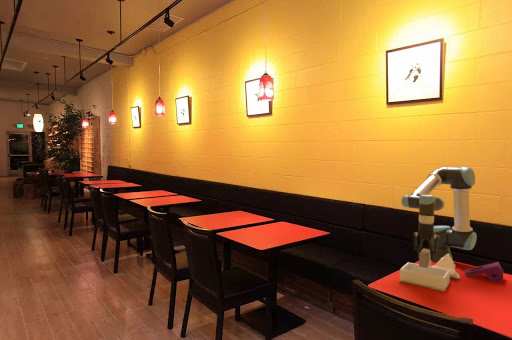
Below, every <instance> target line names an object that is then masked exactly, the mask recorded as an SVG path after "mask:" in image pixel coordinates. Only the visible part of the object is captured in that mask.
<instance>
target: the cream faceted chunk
mask: <svg viewBox="0 0 512 340" xmlns="http://www.w3.org/2000/svg"><path fill="white" fill-rule="evenodd" d="M430 267H435V268H440V269H445V270H450V279H458V280H460V277H461V275H460V274H459V273H458V272H457V271H456V264H455V262H454V260H453V258H452V259H451V257H450V255H449V254H447V255H445V256H444V257H442V258H441V260H439V261H438V262H437V261H436V262H435V264H434V265H430Z"/></svg>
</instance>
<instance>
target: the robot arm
mask: <svg viewBox="0 0 512 340" xmlns="http://www.w3.org/2000/svg"><path fill="white" fill-rule="evenodd" d="M474 171H475V170H473V169H472V168H471V167H467V166H466V167H465V166H441V167H438V168H436V169H434V170H433V171H431V172H430V173H429V174H427V175H426V179H425V180H424V181H423V182H422V183H421V184H420V185H419V186H418V187H417V188H415V190H414V191H412V192H411V194H410V195H409V194H405V195H403V196H402V198H401V205H402V207H403V208H408V209H416V210H417V209H418V230H417V231H415V232H413V233H412V236H413V251H416V253H417V255H416V256H417V259H419V252H420V251H421V250H422V247H423V243H424V240H426V241H427V244H428V249H430V253H429V263H428V266H432V261H433V262H436V263H437V262H438V261H439V260H441V258H442V257H444V256H445V255H447V254H449V255H450V257H451V259H452V260H453V256H452V253H451V250H450V249H451V248H457V249H460V250H467V251H471V250H473V248H474V247H475V246H476V244H477V238H478V236H477V233H476V232H475V231H474V230H473V227H471V225H470V224H471V223H470V222H471V220H470V219H471V218H470V217H471V216H470V213H471V212H470V190H471V189H472V187H473V186H475V184H476V174H475V172H474ZM441 185H450V186H449V187H450V189H451V190H452V191H453V192H452V193H453V195H452V196H453V222H454V224H453V226H452V227H451V226H449V225H435V224H434V223H435V212H436V211H437V212H438V211H440V210H442V209H443V208H444V207H445V201H444V199H442V198H441V197H439V196H437V197H435V196H434V195H432V194H431V193H432V192H433V191H434V190H435V189H436V188H437V187H440V186H441ZM418 236H419V238H420V239H419V242H418Z"/></svg>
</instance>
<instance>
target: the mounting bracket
mask: <svg viewBox="0 0 512 340" xmlns="http://www.w3.org/2000/svg"><path fill="white" fill-rule="evenodd" d="M502 267H503V266H501V264H500V262H499V261H496V262H492V263H488V264H483V265H479V266H475V267H471V268H468V269H465V270H464V273H465V275H466V276H467V277H470V276H476V275H481V274H485V276H486V278H487V279H488V280H489V281H490V282H493V283H501V282H502V281H503V280H504V269H503V268H502Z"/></svg>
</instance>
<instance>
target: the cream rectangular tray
mask: <svg viewBox="0 0 512 340" xmlns="http://www.w3.org/2000/svg"><path fill="white" fill-rule="evenodd" d="M430 266H431V265H430ZM430 266H428V268H424V267H419V263H413V262H409V261H408V262H407V263H406V264H404V265H403V266H402V267H401V268H400V269H399V282H400V281H402V282H401V283H406V284H409V285H415V286H418V287H423V288H427V289H432V290H435V291H439V292H445V291H446V290H447V288H448V286H449V285H450V283H451V281H450V280H451V278H450V270H445V269H440V268H435V267H430Z"/></svg>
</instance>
